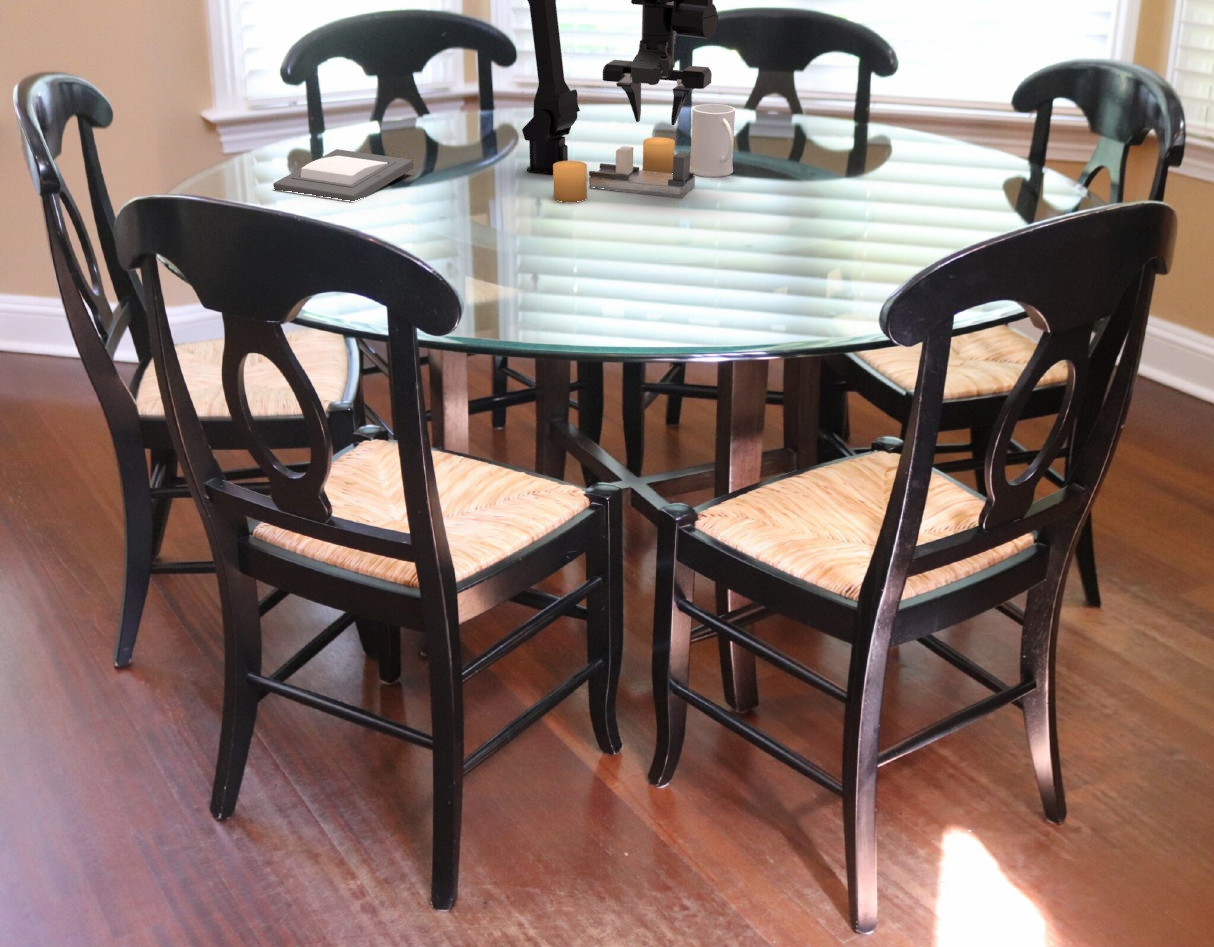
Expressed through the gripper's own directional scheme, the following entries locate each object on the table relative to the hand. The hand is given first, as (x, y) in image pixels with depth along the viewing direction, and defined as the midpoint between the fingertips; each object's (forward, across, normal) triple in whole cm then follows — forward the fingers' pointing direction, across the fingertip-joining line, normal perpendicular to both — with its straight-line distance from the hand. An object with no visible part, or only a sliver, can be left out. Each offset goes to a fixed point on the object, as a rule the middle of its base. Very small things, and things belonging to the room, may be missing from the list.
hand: (655, 123), depth 225 cm
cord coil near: (+12, -12, -11) cm, 20 cm away
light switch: (+13, -55, -17) cm, 59 cm away
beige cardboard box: (+10, -6, 0) cm, 12 cm away
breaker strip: (+12, -2, 0) cm, 12 cm away
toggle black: (+10, +5, 0) cm, 11 cm away
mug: (+12, +8, +14) cm, 20 cm away
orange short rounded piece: (+12, -3, +11) cm, 16 cm away
